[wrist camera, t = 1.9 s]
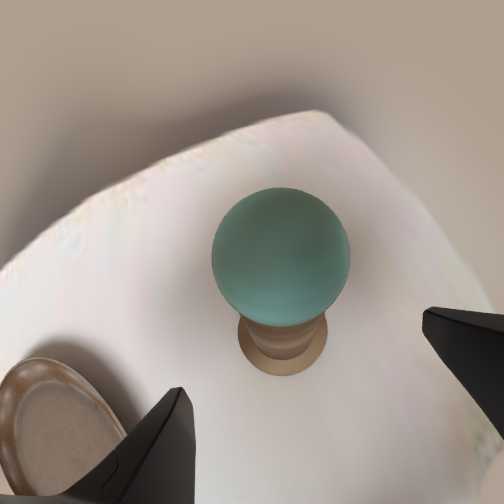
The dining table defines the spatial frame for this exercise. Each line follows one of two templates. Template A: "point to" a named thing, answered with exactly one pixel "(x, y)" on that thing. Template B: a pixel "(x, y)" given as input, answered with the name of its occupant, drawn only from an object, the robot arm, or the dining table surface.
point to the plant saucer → (52, 427)
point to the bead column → (281, 275)
